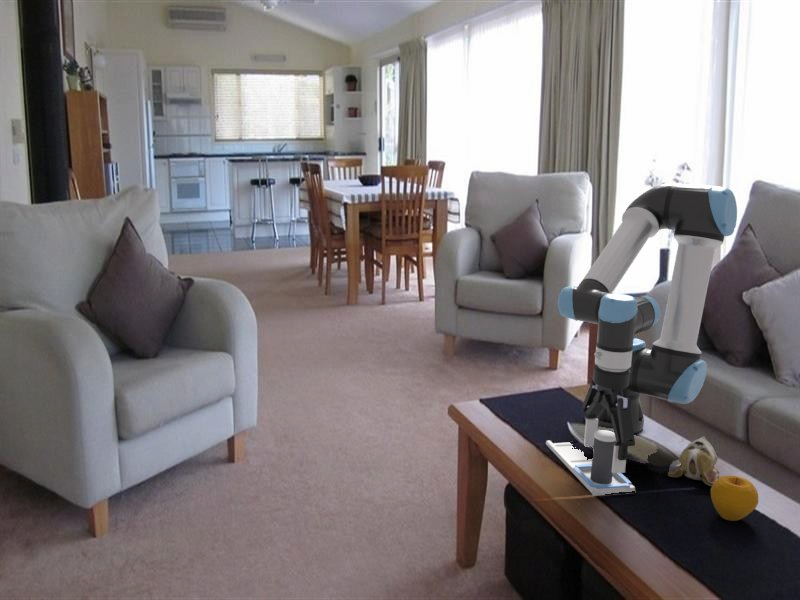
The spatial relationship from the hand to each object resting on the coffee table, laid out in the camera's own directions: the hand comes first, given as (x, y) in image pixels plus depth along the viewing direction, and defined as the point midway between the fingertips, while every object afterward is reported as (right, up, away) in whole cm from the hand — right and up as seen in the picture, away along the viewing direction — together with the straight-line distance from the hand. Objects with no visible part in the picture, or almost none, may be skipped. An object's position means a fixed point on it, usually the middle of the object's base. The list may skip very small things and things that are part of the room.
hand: (603, 458), depth 163 cm
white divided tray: (-2, -4, +8) cm, 9 cm away
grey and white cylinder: (0, -5, +1) cm, 5 cm away
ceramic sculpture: (+22, -5, +5) cm, 23 cm away
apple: (+22, -10, -13) cm, 27 cm away
